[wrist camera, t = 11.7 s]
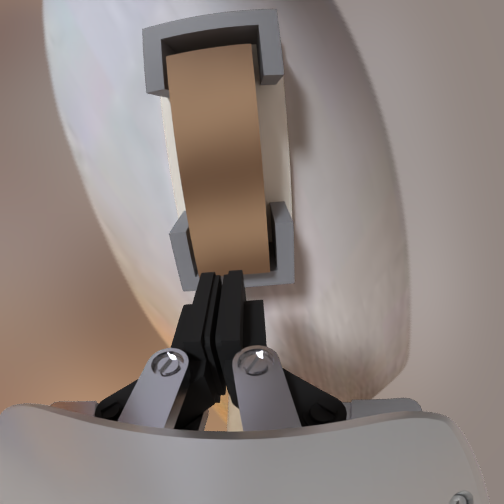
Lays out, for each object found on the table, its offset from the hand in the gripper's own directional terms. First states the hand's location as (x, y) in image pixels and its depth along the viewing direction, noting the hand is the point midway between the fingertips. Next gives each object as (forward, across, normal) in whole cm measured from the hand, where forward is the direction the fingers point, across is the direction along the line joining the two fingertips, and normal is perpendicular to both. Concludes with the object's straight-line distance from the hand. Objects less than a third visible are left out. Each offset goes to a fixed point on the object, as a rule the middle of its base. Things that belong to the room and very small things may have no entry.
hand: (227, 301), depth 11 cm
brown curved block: (+9, 0, -5) cm, 10 cm away
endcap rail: (+10, 0, -5) cm, 11 cm away
